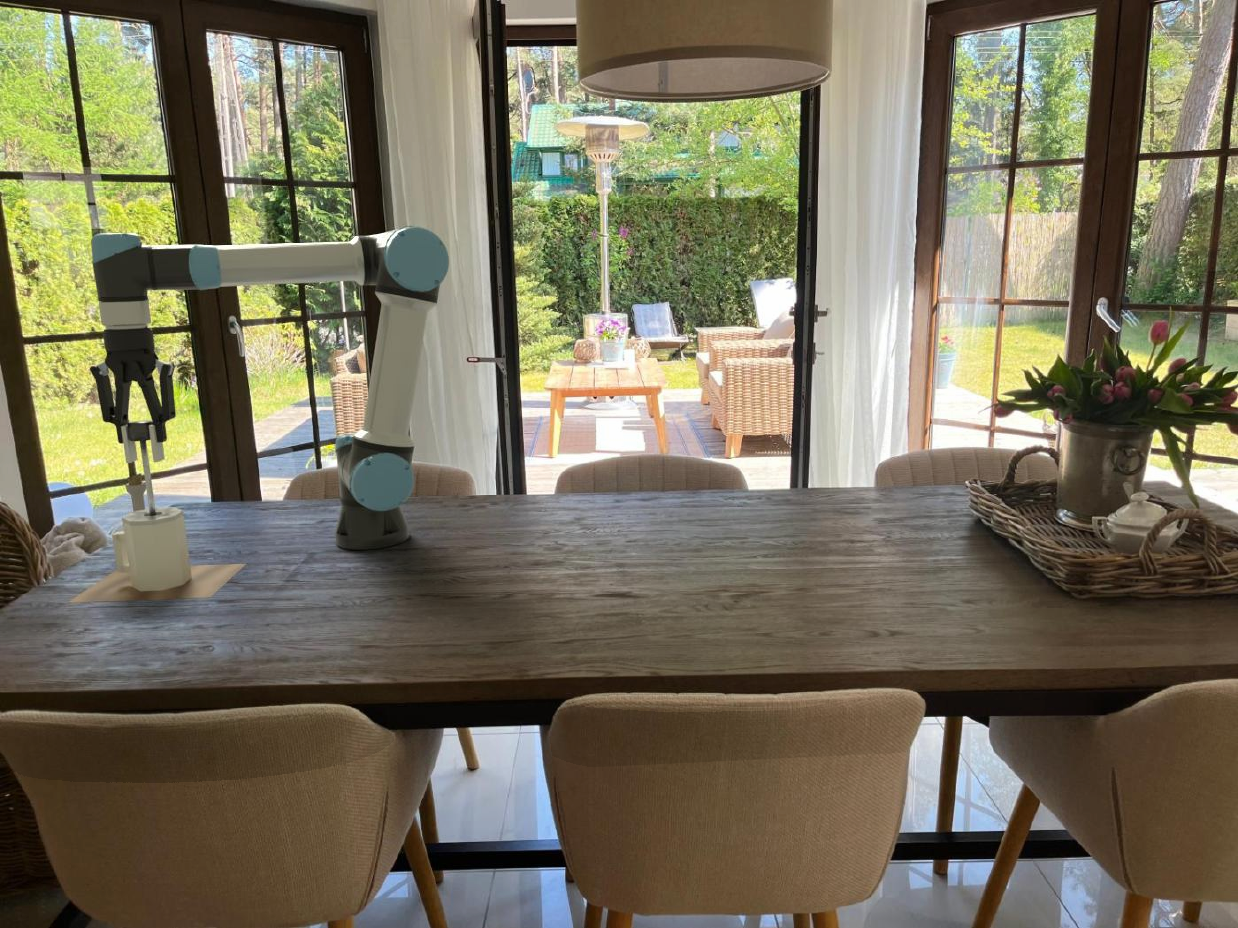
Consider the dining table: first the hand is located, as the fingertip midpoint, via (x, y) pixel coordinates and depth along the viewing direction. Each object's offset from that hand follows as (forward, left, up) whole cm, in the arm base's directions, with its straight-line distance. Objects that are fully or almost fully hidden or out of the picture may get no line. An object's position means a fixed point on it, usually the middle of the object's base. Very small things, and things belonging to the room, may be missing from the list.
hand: (145, 460), depth 160 cm
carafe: (+1, 0, -23) cm, 23 cm away
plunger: (0, 0, -13) cm, 13 cm away
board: (0, 0, -24) cm, 24 cm away
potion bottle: (+11, -18, -24) cm, 32 cm away
